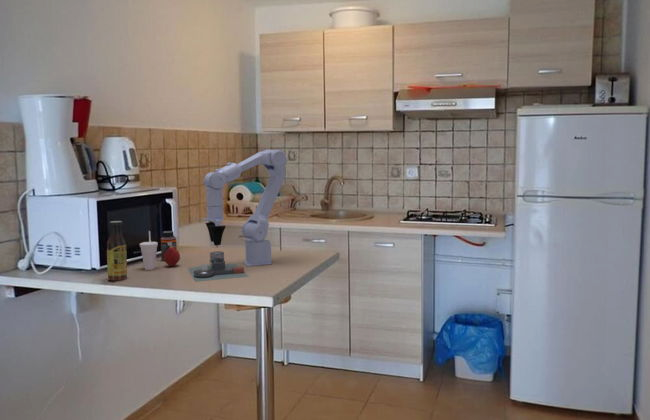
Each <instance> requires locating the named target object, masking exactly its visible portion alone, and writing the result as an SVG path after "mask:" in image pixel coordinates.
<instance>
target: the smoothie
mask: <svg viewBox="0 0 650 420" xmlns="http://www.w3.org/2000/svg"><path fill="white" fill-rule="evenodd" d="M151 236H152V235H151V231H150V230H148V241H143V242H141V243H139V248H140V251H141V256H142V257H141V258H142V261H143V266H144V270H146V271H147V270H148V271H152V270H156V264H157V263H156V262H157V253H158V252H157V251H158V246H159V244H158V243H159V242H157V241H152V240H151Z"/></svg>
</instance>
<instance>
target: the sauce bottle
mask: <svg viewBox="0 0 650 420" xmlns="http://www.w3.org/2000/svg"><path fill="white" fill-rule="evenodd" d="M109 229H110V233H109V234H110V235H109V237H108V239H107V241H106V262H107V264H106V265H107V268H106V269H107V279H108V281H112V282H115V281H116V282H119V281H124V280H126V279H127V278H128V276H127V275H128V261H127V259H128V258H127V257H128V256H127V244H126V241H125V238H124V235H123V221H122V220H113V221H109Z"/></svg>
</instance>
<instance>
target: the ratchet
mask: <svg viewBox="0 0 650 420" xmlns="http://www.w3.org/2000/svg"><path fill="white" fill-rule="evenodd" d="M207 266H208V264H207V263H200V267H201V269H200V270H196V271H194V277H195V278H210V277H213V276H215V275H226V274H239V273H244V272H245V268H244V267H243V266H242V265H241V266H239V267H232V269H222V270H213V269H207Z"/></svg>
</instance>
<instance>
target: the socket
mask: <svg viewBox="0 0 650 420" xmlns="http://www.w3.org/2000/svg"><path fill="white" fill-rule="evenodd" d="M225 265H226V261H225V252H224V251H222V250H219V251H218V250H217V251H216V250H215V251H210V252H209V266H210V269H213V270H222V269H225Z"/></svg>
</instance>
